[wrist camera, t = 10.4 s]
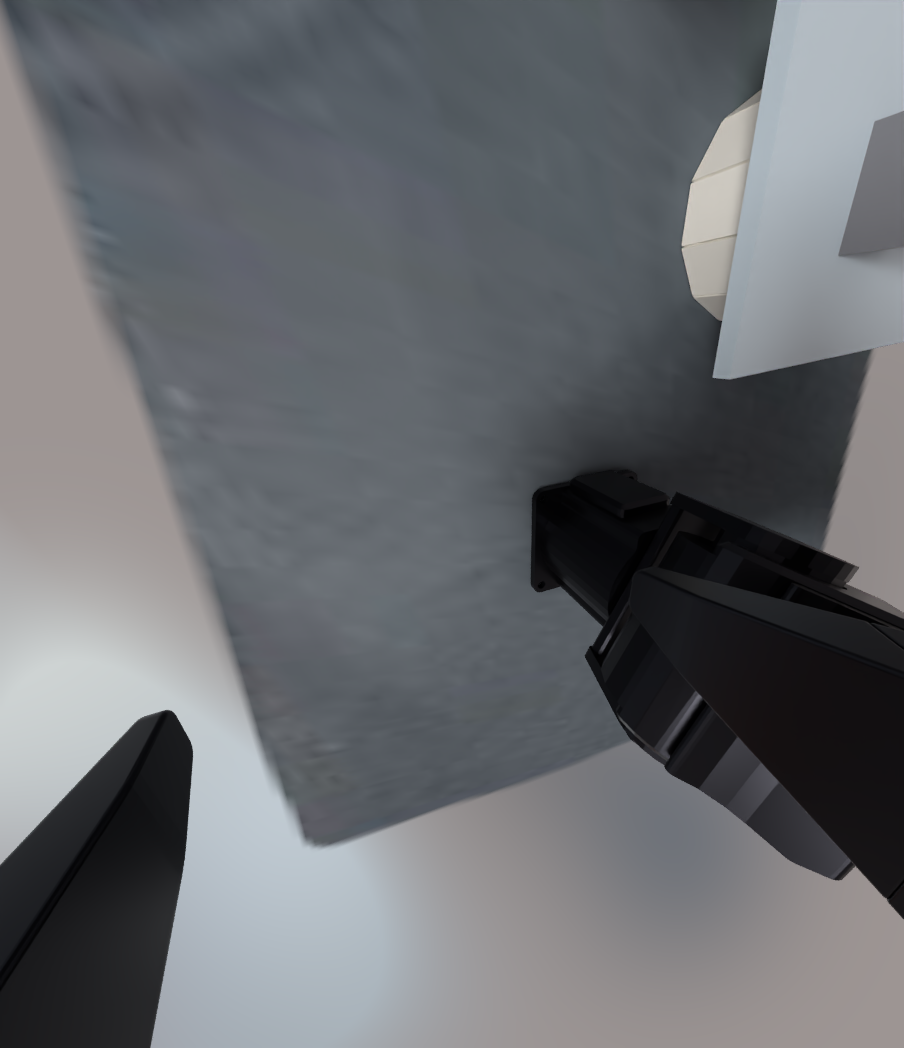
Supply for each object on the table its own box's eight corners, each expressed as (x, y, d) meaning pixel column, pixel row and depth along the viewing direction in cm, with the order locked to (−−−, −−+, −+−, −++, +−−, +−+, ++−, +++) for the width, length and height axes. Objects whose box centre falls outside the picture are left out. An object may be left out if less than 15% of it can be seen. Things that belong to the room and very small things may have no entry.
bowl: (796, 313, 23) (885, 309, 19) (669, 326, 20) (744, 324, 17) (856, 94, 19) (982, 41, 15) (706, 78, 16) (815, 10, 13)
